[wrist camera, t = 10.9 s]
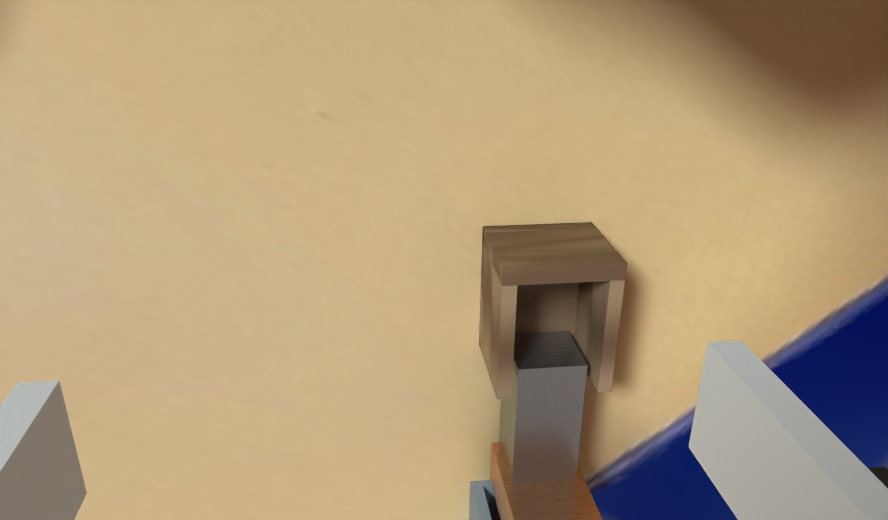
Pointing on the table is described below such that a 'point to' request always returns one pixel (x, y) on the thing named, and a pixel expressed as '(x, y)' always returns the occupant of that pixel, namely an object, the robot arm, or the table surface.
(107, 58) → the table surface
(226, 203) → the table surface
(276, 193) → the table surface
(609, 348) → the sleeve
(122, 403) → the table surface
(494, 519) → the grey rectangular block
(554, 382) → the blue and tan block
